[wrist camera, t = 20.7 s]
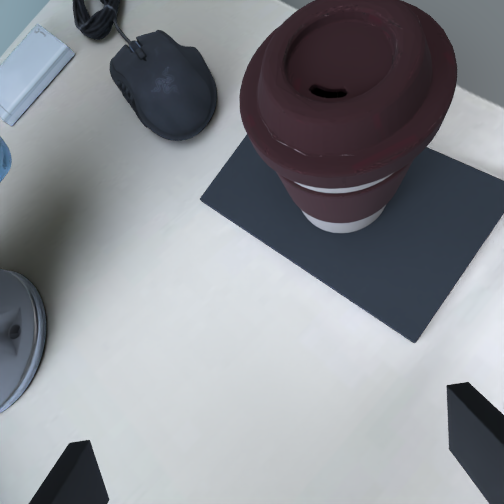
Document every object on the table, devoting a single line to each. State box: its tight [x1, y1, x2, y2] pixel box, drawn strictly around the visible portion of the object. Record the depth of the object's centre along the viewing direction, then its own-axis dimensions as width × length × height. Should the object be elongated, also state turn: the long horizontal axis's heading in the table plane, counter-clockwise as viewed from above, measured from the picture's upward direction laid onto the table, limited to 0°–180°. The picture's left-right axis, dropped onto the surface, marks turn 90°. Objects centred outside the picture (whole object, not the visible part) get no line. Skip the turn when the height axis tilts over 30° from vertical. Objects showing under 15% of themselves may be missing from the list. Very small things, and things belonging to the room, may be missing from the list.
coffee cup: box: [240, 0, 457, 233], centre depth 21 cm, size 10×10×15 cm
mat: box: [200, 134, 504, 343], centre depth 28 cm, size 22×14×1 cm, turn 53°
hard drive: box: [0, 24, 75, 126], centre depth 43 cm, size 2×8×12 cm
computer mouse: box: [73, 0, 217, 141], centre depth 37 cm, size 10×32×6 cm, turn 35°
